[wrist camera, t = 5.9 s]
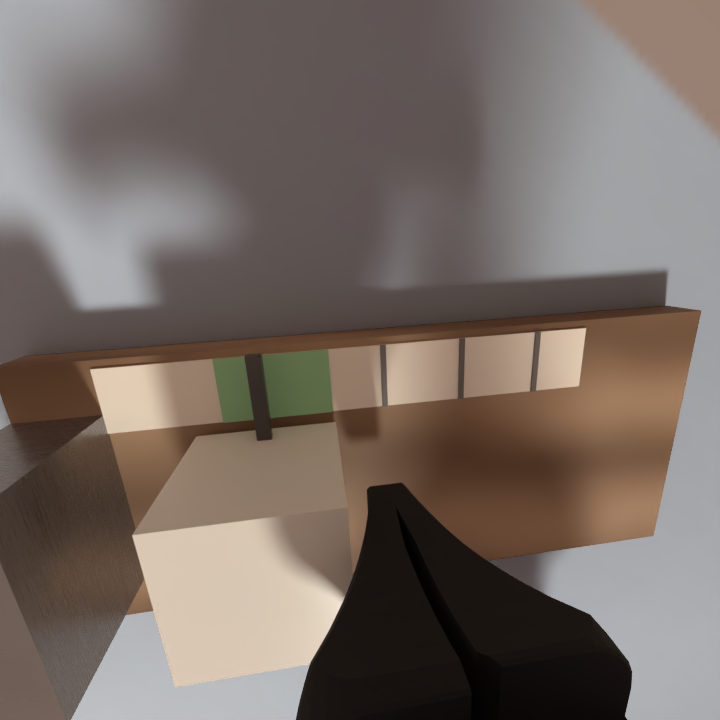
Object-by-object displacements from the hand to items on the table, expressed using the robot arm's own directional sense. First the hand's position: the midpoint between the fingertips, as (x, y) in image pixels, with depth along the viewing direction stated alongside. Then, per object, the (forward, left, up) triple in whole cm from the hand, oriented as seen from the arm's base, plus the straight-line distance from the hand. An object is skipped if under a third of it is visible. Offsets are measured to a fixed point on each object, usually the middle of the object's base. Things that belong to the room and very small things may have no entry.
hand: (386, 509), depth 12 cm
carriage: (+2, +4, -2) cm, 5 cm away
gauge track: (0, 0, -4) cm, 4 cm away
